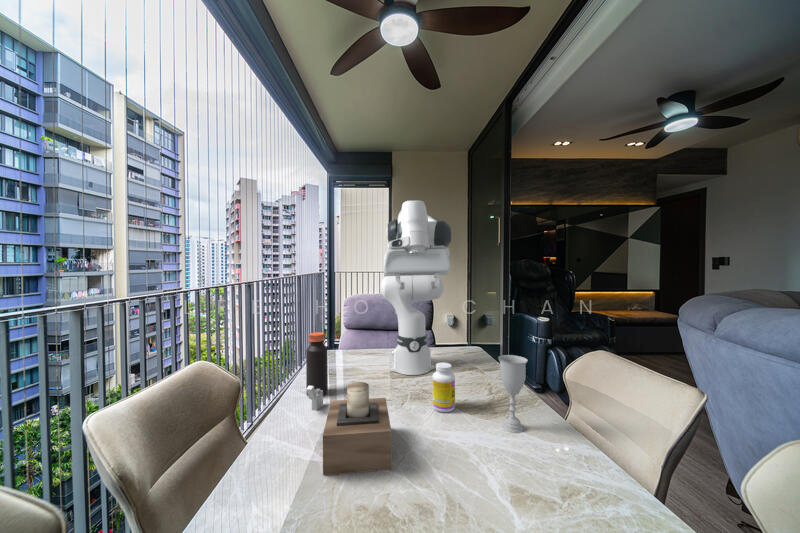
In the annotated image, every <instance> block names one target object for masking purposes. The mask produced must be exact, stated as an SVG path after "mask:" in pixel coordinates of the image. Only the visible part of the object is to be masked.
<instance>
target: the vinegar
mask: <svg viewBox="0 0 800 533" xmlns="http://www.w3.org/2000/svg"><path fill="white" fill-rule="evenodd" d="M308 340H309V346H307V348H306V351H305V354H306V357H305V358H306V359H305V361H306V364H305V365H306V366H305V367H306V368H305V371H306V372H305V374H306V377H305V378H306V382H305V384H306V385H305V386H306V389H307V387H308V386H314V389H315V390H316V389H320V390H323V397H325V396H326V395H327V394H328V391H329V389H328V388H329V387H328V385H329V384H328V382H329V381H328V380H329V379H328V378H329V376H328V374H329V372H328V366H329V365H328V362H329V361H328V359H329V358H328V347H327V346H326V345H325V344H324V343H325V340H326V339H325V332H323V331H322V332H321V331H317V332H311V333H309V334H308ZM306 389H305V390H306ZM306 396H307V397H308V393H307V392H306Z"/></svg>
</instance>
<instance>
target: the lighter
mask: <svg viewBox="0 0 800 533" xmlns="http://www.w3.org/2000/svg"><path fill="white" fill-rule="evenodd" d="M305 390H306V394H307V393H308V396H307V397H308V399H309V400H311V411H313V412H314V411H315V412H317V411H318V410H319V409H320V408H321V407H322V406H324V396H323V390H320V389H316V390H315V389H314V386H308V387H307V389H305Z"/></svg>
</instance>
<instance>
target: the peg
mask: <svg viewBox="0 0 800 533" xmlns="http://www.w3.org/2000/svg"><path fill="white" fill-rule="evenodd" d="M369 399H370V386H369V383H367V382H365V381H364V382H363V381H355V382H351V383H349V384H347V386H346V400H347V418H360V417H369Z"/></svg>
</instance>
